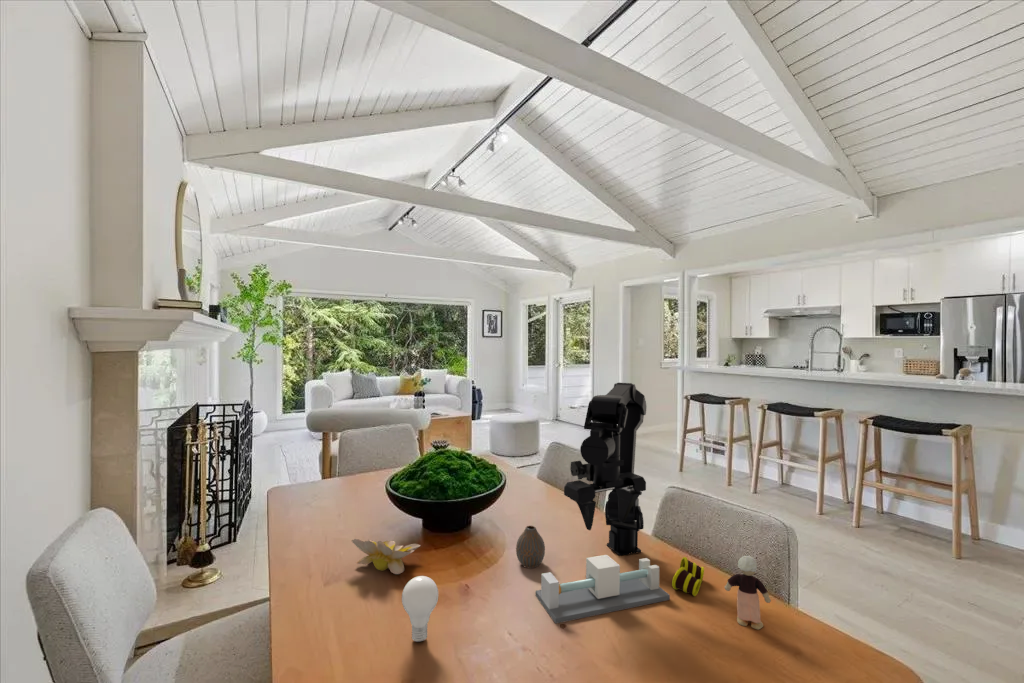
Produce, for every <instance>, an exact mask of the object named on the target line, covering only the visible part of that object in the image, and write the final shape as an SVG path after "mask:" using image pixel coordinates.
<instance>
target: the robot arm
mask: <svg viewBox="0 0 1024 683" xmlns="http://www.w3.org/2000/svg"><path fill="white" fill-rule="evenodd" d="M646 415H647V401H646V397H645V395H644V394H643V393H642V392H641V391H640V390H638V389H637V387H636V384H634V383H632V382H616V383H614V385H613V387H612V389H610V390H609V391H608V392H607V394H602V395H601V394H600V395H599V394H597V395H595V396H593V397H592V398H591V400H589V402H588V406H587V410H586V415H585V416H586V417H585V420H584V426H583V429H584V430H589V433H590V434H589V436H588V437H586V438H584V440H583V441H582V442H581V445H580V450H579V451H580V455H581V457H582V459H583V461H585V463H582V461H581V460H575V461H571V462H570V468H569V470H570V475H572V477H576V476H577V480H574V481H568V482H566V483H565V485H564V489H563V496H565V497H567V498H568V499H570V500H571V501H574V502H575V503H576V505H577V506H578V509H579V511H580V513H581V517H582V519H583V523H584V525H585V528H586V530H588V531H591V530H592V526H593V523H594V517H595V512H596V506H597V505H596V504H597V501H595V498H596V493H603V492H606V491H607V492H608V491H610V492H609V493H608V496H607V501H606V502H605V506H604V516H605V517H604V518H605V526H610V530H608V542H607V543H606V546H607V547H608V548H609V549H611V550H612V551H613V552H614V553H616V554H617V555H618V556H621V557H622V556H628V555H633V554H639V553H642V550H641V549H640V548H639V547H638V546H639V544H638V541H639V540H638V535H639V534H638V533H639V532H640V530H644V528H645V527H644V516H643V514H644V513H643V512H642V508H641V506H640V505H639V504H640V502H639V500H640V499H639V497H640V496H642V494H643V493H642V492H645V491H647V482H646V479H645V478H644V477H643V476H642V475H638V474H636V473H635V462H636V460H635V459H636V447H637V446H636V444H637V443H636V442H637V431H638V430H639V428H640V427H641V426H642V424H643V423H644V418H645V417H644V416H646ZM583 479H586V481H588V482H592V483H587V482H585V481H583Z"/></svg>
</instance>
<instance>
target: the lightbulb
mask: <svg viewBox="0 0 1024 683" xmlns="http://www.w3.org/2000/svg"><path fill="white" fill-rule="evenodd" d="M438 600H439V588H438V585H437V584H436V582H435V581H434V580H433V579H432V578H431V577H428V576H426V575H417V576H415V577H413V578H412V579H410V580H408V582H407V583H406V584H405V586H404V587H403V590H402V594H401V603H402V607H403V609H404V610H405V612H406V613H407V615H408V617H409V620H410V625H411V639H412V641H414V642H416V643H421V642H423V641H426V639H427V637H428V623H429V621H430V617H431V613H432V612H434V611H433V610H434V609H435V608H436V606H437V603H438Z"/></svg>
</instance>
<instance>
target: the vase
mask: <svg viewBox="0 0 1024 683" xmlns="http://www.w3.org/2000/svg"><path fill="white" fill-rule="evenodd" d="M515 549H516V550H515V553H516V557H517V561H518V562H519V563H520V564H521V566H523V568H524V567H525V568H527V569H534V568H537V567H538V566H540V565H541V563H542V562H543V560H544V557H545V553H546V546H545V542H544V539H543V537H542V535H541V534H540V533H539V531H538V529H537V528H536V525H535V526H534V525H527V526H526V527H525V529H524V531H523V532H522V533H521V534H520V535H519V536H518V539H517V541H516V547H515Z"/></svg>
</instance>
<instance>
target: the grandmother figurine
mask: <svg viewBox="0 0 1024 683" xmlns="http://www.w3.org/2000/svg"><path fill="white" fill-rule="evenodd" d="M737 568H739V570H740V571H741V572H742V574H741V573H736V574H734V575H732V576H730V577H729V578H727V583H726V584H725V585H724V589H725V591H727V592H730V591H731V588H733V587H738V589H737V594H736V595H737V596H736V598H737V599H736V610H737V617H736V621H737V623H738V625H740V626H743V627H747V626H748V624H749V622H751V623H750V627H751V628H753V629H755V630H761V629H762V628H763V627H764V623H763V622H762V620H761V609H760V607H761V606H760V596H759V593H758V591H759V592H760V593H761V595H762V597H763V598H764V601H765V603H767V604H770V603H771V602H772V600H771V598H770V595H769V593H768V589H767V588H766V587H765V585H764V583H763V582H762V581H761V580H760V579H759V578H757V577H755V576H753V575H754V574H755V573H756V572H757V568H758V564H757V561H756V559H755V558H754V557H753V556H750V555H742V556H741V557H740V558H739V559H738V561H737Z"/></svg>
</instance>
